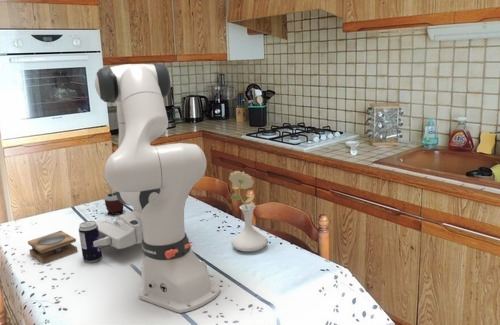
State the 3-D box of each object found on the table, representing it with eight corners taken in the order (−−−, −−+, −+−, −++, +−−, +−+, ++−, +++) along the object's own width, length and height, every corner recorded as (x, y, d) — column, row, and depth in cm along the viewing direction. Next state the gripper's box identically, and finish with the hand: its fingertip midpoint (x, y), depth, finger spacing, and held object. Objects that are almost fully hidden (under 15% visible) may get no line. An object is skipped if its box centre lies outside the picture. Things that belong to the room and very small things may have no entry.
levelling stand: (77, 251, 148) (75, 237, 147) (43, 264, 141) (41, 249, 139) (62, 242, 156) (60, 229, 154) (30, 254, 148) (27, 240, 147)
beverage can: (96, 264, 139) (91, 227, 136) (79, 263, 140) (74, 227, 137) (105, 255, 144) (100, 220, 141) (89, 254, 145) (84, 220, 142)
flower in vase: (274, 245, 145) (271, 170, 139) (250, 258, 137) (246, 179, 131) (245, 235, 154) (241, 164, 148) (221, 247, 146) (215, 172, 140)
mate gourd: (121, 216, 178) (117, 180, 174) (102, 217, 178) (96, 180, 174) (127, 209, 185) (122, 174, 181) (108, 210, 185) (103, 175, 182)
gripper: (109, 211, 156) (70, 223, 146) (142, 225, 142) (102, 240, 132) (111, 228, 157) (73, 241, 148) (145, 244, 143) (105, 259, 134)
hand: (87, 241), depth 140 cm, fingers closed on beverage can, 6 cm apart
